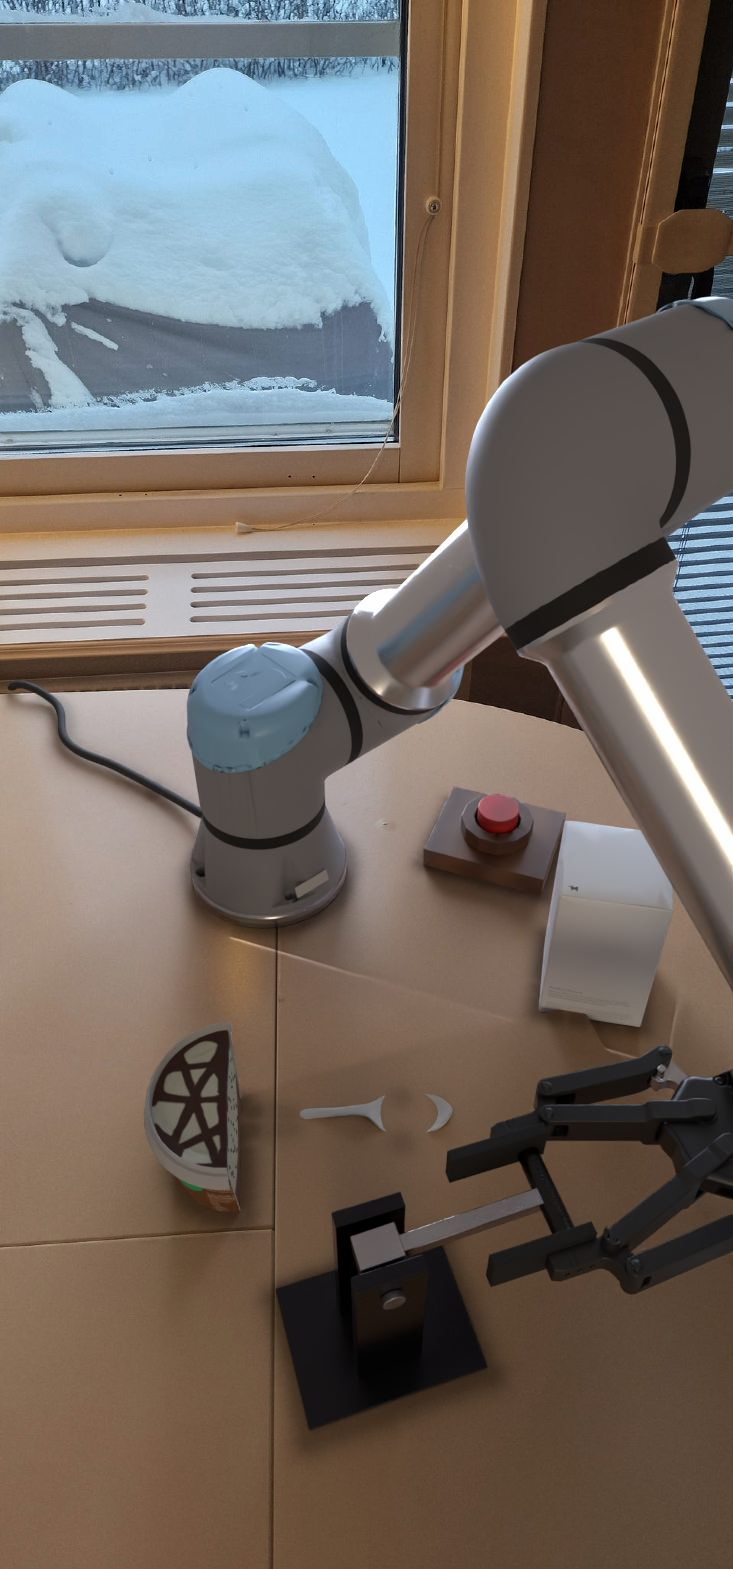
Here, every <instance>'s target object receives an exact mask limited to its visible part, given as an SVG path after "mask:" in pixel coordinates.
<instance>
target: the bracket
mask: <svg viewBox="0 0 733 1569" xmlns="http://www.w3.org/2000/svg"><path fill="white" fill-rule="evenodd" d="M330 1215H331V1230H332V1246H333V1247H332V1249H333V1263H334V1269H333V1270H330V1271H327V1272H324V1273H320V1274H317V1275H314V1276H312V1277H308V1278H305V1279H304V1278H303V1279H301V1280H299V1281H295V1282H292V1283H289V1284H286V1285H282V1286H280V1287H277V1288H275V1294H276V1298H277V1303H278V1307H279V1311H280V1315H281V1320H282V1323H283V1328H284V1331H285V1337H286V1341H287V1344H288V1348H289V1353H290V1357H291V1360H292V1361H291V1362H292V1365H293V1369H294V1374H295V1378H296V1381H297V1382H296V1383H297V1385H298V1386H297V1387H298V1390H299V1394H300V1398H301V1403H302V1407H303V1410H304V1415H305V1419H306V1424H307V1427H308V1428H307V1429H308V1430H309V1431H313V1430H315V1429H319V1428H322V1427H324V1426H327V1425H330V1424H334V1423H335V1422H340V1421H341V1420H344V1419H347V1418H349V1417H352V1416H355V1415H359V1414H362V1413H365V1412H367V1411H370V1410H372V1409H375V1408H379V1407H381V1406H385V1405H387V1404H389V1403H393V1402H395V1401H399V1400H401V1399H404V1398H406V1397H410V1396H412V1395H415V1394H419V1393H421V1392H424V1391H426V1390H429V1389H433V1388H435V1387H437V1386H441V1385H444V1384H447V1383H449V1382H452V1381H456V1380H458V1379H461V1378H464V1377H466V1376H470V1375H472V1374H474V1373H478V1372H481V1371H483V1370H486V1369H488V1365H487V1362H486V1359H485V1355H484V1354H483V1351H482V1348H481V1344H480V1343H479V1341H478V1337H477V1334H476V1332H475V1329H474V1326H473V1323H472V1321H471V1318H470V1316H469V1313H468V1311H467V1307H466V1305H465V1302H464V1300H463V1296H462V1294H461V1292H460V1290H459V1286H458V1284H457V1280H456V1278H455V1275H454V1273H453V1270H452V1267H451V1265H450V1262H449V1259H448V1256H447V1254H446V1251H445V1249H444V1245H442V1246H439V1247H436V1248H433V1249H430V1250H427V1251H424V1252H421V1253H418V1254H415V1255H413V1256H410V1257H407V1258H406V1260H403V1261H400V1262H397V1263H394V1264H391V1265H388V1266H385V1267H382V1268H378V1269H375V1270H372V1271H369V1272H366V1273H363V1274H360V1275H359V1273H358V1270H357V1266H356V1263H355V1260H354V1256H353V1252H352V1246H351V1239H350V1236H352V1235H355V1234H358V1233H361V1232H364V1231H367V1230H370V1229H373V1228H376V1227H379V1226H382V1225H385V1224H388V1223H391V1222H395V1225H396V1228H397V1231H398V1234H402V1233H405V1229H406V1228H405V1227H406V1202H405V1201H404V1198H403V1195H402V1192H401V1191H397V1192H394V1193H391V1194H387V1195H385V1196H381V1197H377V1198H375V1199H371V1200H368V1201H364V1202H361V1203H358V1204H355V1205H352V1206H348V1207H344V1208H342V1209H337V1210H335V1211H332V1212H331V1213H330Z"/></svg>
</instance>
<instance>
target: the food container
mask: <svg viewBox="0 0 733 1569" xmlns="http://www.w3.org/2000/svg"><path fill="white" fill-rule="evenodd" d="M232 1032H233V1029H232V1026H231V1023H230V1021H222V1022H216V1023H212V1024H209V1025H206V1026H203V1027H200V1028H199V1029H196V1030H194V1031H192V1032H191V1033H189V1034H188V1035H186V1036H184V1037H183V1038H181V1039H180V1040H179V1041H178V1042H176V1043H175V1044H174V1045H173V1046H172V1047H171V1048H170V1049H169V1050H168V1051H167V1052H166V1053H165V1054H164V1056H163V1057H162V1058H161V1061H159V1063H158V1065H157V1066H156V1068H155V1069H154V1071H153V1073H152V1076H151V1077H150V1080H149V1083H148V1086H147V1089H146V1092H145V1093H146V1094H145V1100H144V1107H143V1108H144V1109H143V1124H144V1125H143V1126H144V1131H145V1136H146V1141H147V1143H148V1145H149V1147H150V1150H151V1151H152V1154H154V1156H155V1158H156V1160H157V1161H158V1162H159V1164H161V1166H163V1168H164V1169H165V1170H166V1171H168V1172H170V1174H172V1176H174V1177H175V1178H177V1179H178V1181H179V1183H180V1185H181V1186H182V1188H183V1190H184V1191H185V1192H186V1193H187V1194H188V1195H189V1196H190V1197H191V1198H192V1199H193V1200H195V1201H196V1202H197V1203H199V1204H200V1205H203V1206H205V1207H206V1208H209V1209H212V1210H216V1211H219V1212H226V1213H241V1207H240V1192H241V1191H240V1189H241V1188H240V1186H241V1185H240V1184H241V1182H240V1181H241V1164H240V1162H241V1158H240V1155H241V1154H240V1153H241V1149H240V1148H241V1100H242V1096H243V1095H242V1090H241V1084H240V1078H239V1073H238V1067H237V1060H236V1054H235V1050H234V1043H233V1038H232Z"/></svg>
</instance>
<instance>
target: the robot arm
mask: <svg viewBox="0 0 733 1569" xmlns="http://www.w3.org/2000/svg"><path fill="white" fill-rule="evenodd" d="M468 452H469V453H468V456H467V461H466V468H465V476H464V485H465V486H464V498H465V510H466V519H465V520H464V521H463V522H462V523H461V524H460V525H459V526H458V527H457V528H456V529H455V530H454V531H453V532H452V533H451V535H449V536H448V537H447V539H445V540H444V541H443V542H442V544H441V545H439V546H438V548H436V549H435V551H434V552H433V553H431V555H430V556H428V557H427V558H426V560H424V562H423V563H422V564H421V565H420V566H418V568H417V569H416V570H415V571H413V573H412V574H411V575H409V577H408V578H407V579H405V581H404V582H403V583H402V584H401V585H400V586H399V587H398V588H386V589H381V590H378V591H376V592H373V593H371V594H369V595H367V596H366V597H365V598H364V599H363V600H361V602H359V604H357V605H356V606H355V607H354V608H353V610H352V611H351V612H350V613H349V614H348V615H347V616H346V617H345V618H344V619H343V620H342V621H341V622H340V623H339V624H338V625H337V626H335V627H334V628H333V629H331V630H330V631H329V632H327V633H325V634H322V635H321V636H318V637H317V638H314V639H313V640H310V641H308V642H306V643H305V644H303V645H300V646H299V647H295V646H293V645H289V644H286V643H281V642H264V643H263V644H262V645H261V646H258V647H257V646H256V645H255V644H254V643H250V644H249V643H248V644H245V645H242V646H238V647H235V648H233V649H230V650H228V651H226V652H224V653H222V654H220V655H218V656H217V657H216V658H214V659H213V660H211V661H210V662H208V663H207V665H205V667H204V668H203V669H201V670H200V672H198V674H197V675H196V677H195V678H194V680H193V682H192V684H191V686H190V687H189V691H188V695H187V701H186V721H187V722H186V723H187V724H186V740H187V744H188V746H189V749H190V751H191V758H192V764H193V771H194V775H195V776H194V777H195V783H196V790H197V796H198V802H199V806H198V805H196V803H194V802H191V801H189V800H188V799H186V798H184V797H183V796H181V795H179V794H177V793H176V792H174V791H172V790H170V789H168V788H166V787H164V786H163V785H161V784H159V783H158V782H155V781H153V780H152V779H150V778H149V777H147V776H144V775H143V774H141V773H139V772H137V771H136V770H134V769H131V768H129V767H127V766H126V765H123V764H122V763H120V762H118V761H115V760H113V759H111V758H108V757H105V756H104V755H103V756H102V755H100V754H97V753H95V752H92V751H90V750H88V749H85V748H83V747H81V746H79V745H77V744H76V743H75V742H74V741H73V740H72V739H71V738H70V737H69V735H68V732H67V726H66V724H67V723H66V711H65V708H64V705H63V704H62V702H61V701H59V699H58V698H56V697H55V695H53V694H52V693H50V692H49V691H48V690H46V689H45V688H42V687H41V686H39V685H37V684H35V683H33V682H30V681H26V680H14V681H11V682H10V683H9V684H8V685H7V690H8V691H12V692H13V691H16V690H18V689H22V690H25V691H29V692H31V693H33V694H35V695H37V696H39V697H41V698H42V699H44V700H45V701H46V702H47V703H49V704H50V705H51V706H52V707H53V709H54V710H55V714H56V725H57V726H56V728H57V729H56V730H57V735H58V738H59V740H60V741H61V743H62V744H63V745H64V746H65V748H67V749H68V751H70V752H71V753H73V754H74V755H76V756H78V757H80V758H82V759H83V760H86V761H88V762H89V761H90V762H92V763H95V764H97V765H100V766H103V767H105V768H108V769H110V770H112V771H115V772H116V773H118V774H120V775H122V776H124V777H126V778H128V779H130V780H132V781H133V782H135V783H137V784H139V785H141V786H143V787H144V788H146V789H148V790H150V791H151V792H153V793H156V794H157V795H159V796H160V797H162V798H164V799H166V800H168V801H170V802H171V803H173V804H175V805H176V806H178V807H180V808H182V809H184V810H186V811H187V812H189V813H190V814H192V815H194V816H196V817H197V818H199V819H200V822H199V825H198V828H197V831H196V836H195V839H194V843H193V847H192V850H191V855H190V861H189V862H190V863H189V868H190V876H191V882H192V886H193V890H194V892H195V894H196V896H197V898H198V900H199V901H200V902H201V903H202V905H203V906H204V907H205V908H206V909H207V910H208V911H210V913H212V914H214V915H215V916H216V917H218V918H221V919H222V920H224V921H227V922H229V923H231V924H234V925H238V926H243V927H249V928H261V929H262V928H263V929H264V928H265V929H267V928H279V927H283V926H289V925H292V924H296V923H299V922H302V921H305V920H307V919H309V918H311V917H313V916H315V915H317V914H318V913H320V912H321V911H322V910H324V909H325V908H326V907H327V906H329V905H330V904H331V903H332V901H333V900H335V898H336V897H337V896H338V894H339V893H340V892H341V889H342V888H343V886H344V883H345V880H346V876H347V866H348V865H347V849H346V845H345V843H344V839H343V837H342V835H341V833H340V832H339V830H338V829H337V826H336V824H335V822H334V819H333V817H332V814H330V810H329V809H328V807H327V805H326V786H325V784H326V783H325V782H326V780H327V778H328V777H329V776H331V775H332V774H334V773H336V772H338V771H340V770H341V769H342V768H344V767H346V766H347V765H349V764H352V763H353V762H354V761H356V760H358V759H359V758H361V757H363V756H364V755H366V754H368V753H369V752H371V751H373V750H375V749H376V748H378V747H380V746H381V745H383V744H385V743H386V742H388V741H390V740H391V739H393V738H395V737H397V736H398V735H401V734H402V733H404V732H405V731H407V730H409V729H410V728H413V727H414V726H416V725H420V724H422V723H424V722H426V721H428V720H430V719H432V718H433V717H435V716H436V715H437V714H439V712H441V711H442V710H443V708H445V707H446V706H447V705H448V704H449V703H450V702H451V701H452V700H453V698H454V697H455V695H456V694H457V692H458V690H459V688H460V685H461V682H462V679H463V674H464V668H465V665H466V664H468V663H469V662H470V661H471V660H473V659H474V658H475V657H476V656H478V655H479V654H481V652H483V651H484V650H485V649H486V648H488V647H489V646H490V645H492V644H493V643H494V642H496V641H497V640H498V639H500V638H501V637H503V635H505V634H506V636H507V638H508V639H509V641H510V643H511V645H512V647H513V648H514V650H515V652H516V653H517V655H518V657H521V658H523V659H524V658H525V659H528V660H531V661H534V662H536V663H537V662H538V663H540V664H542V665H544V666H546V668H547V670H548V671H549V673H550V675H551V677H552V678H553V680H554V682H555V683H556V685H557V687H558V689H559V690H560V692H561V694H562V696H563V698H564V699H565V702H566V703H567V704H568V707H569V708H570V710H571V711H572V713H573V715H574V717H575V718H576V720H577V722H578V724H579V726H580V727H581V729H582V731H583V733H584V734H585V736H586V738H587V740H588V741H589V743H590V745H591V746H592V749H593V750H594V752H595V754H596V755H597V757H598V759H599V761H600V763H601V764H602V766H603V768H604V770H605V771H606V773H607V774H608V775H607V776H609V778H610V780H611V782H612V784H613V785H614V787H615V789H616V790H617V792H618V794H619V795H620V797H621V799H622V801H623V804H625V807H626V808H627V810H628V812H629V813H630V815H631V817H632V818H633V820H634V822H635V824H636V825H637V827H638V830H640V831H641V832H642V834H643V836H644V838H645V839H646V841H647V843H648V845H649V846H650V848H651V850H652V852H653V853H654V855H655V857H656V859H657V860H658V862H659V864H660V866H661V867H662V869H663V871H664V873H665V874H666V876H667V878H668V880H669V881H670V883H671V885H672V887H673V891H674V892H675V894H676V896H677V897H678V899H679V901H680V903H681V905H682V906H683V908H684V909H685V911H686V913H687V915H688V916H689V918H690V920H691V922H692V923H693V925H694V928H695V929H696V931H697V932H698V934H699V935H700V937H701V939H702V941H703V943H704V945H705V946H706V948H707V950H708V951H709V954H710V955H711V957H712V958H713V961H714V962H715V965H717V968H718V969H719V971H720V972H721V975H722V976H723V978H724V980H725V981H726V983H727V985H728V986H729V988H730V990H731V992H732V993H733V699H732V697H731V695H730V694H729V692H728V690H727V688H726V687H725V684H724V682H723V681H722V680H721V677H720V676H719V674H718V673H717V672H718V671H717V670H716V669H715V666H713V663H712V662H711V659H710V658H709V656H708V655H707V652H706V651H705V649H704V647H703V645H702V644H701V642H700V640H699V639H698V638H699V637H698V636H697V635H696V633H695V630H694V629H693V628H692V625H691V623H690V622H689V621H688V618H687V617H686V615H685V613H684V611H683V610H682V608H681V606H680V604H679V602H678V601H677V599H676V597H675V595H674V585H675V582H676V577H677V574H678V570H679V566H680V563H679V561H678V558H677V557H676V554H675V553H674V551H673V550H672V548H671V546H670V544H669V543H668V541H667V538H668V537H669V536H671V535H673V534H674V533H675V532H676V531H677V530H679V529H681V528H682V527H684V526H685V525H686V524H687V523H689V522H690V521H691V520H693V519H694V518H696V517H698V515H700V514H701V513H703V512H704V511H705V510H707V509H708V508H710V507H711V506H713V505H714V504H716V503H717V502H718V501H720V500H722V499H723V498H725V497H726V496H728V495H730V494H732V493H733V298H729V297H721V296H704V297H699V298H696V299H682V300H681V299H679V300H675V301H672V302H671V303H668V304H666V305H663V306H662V307H661V308H659V309H658V310H657V311H656V312H655V313H653V314H650V315H647V316H645V317H642V318H639V319H637V320H634V321H631V322H628V323H625V324H622V325H620V326H617V327H614V328H612V329H609V330H605V331H603V332H600V333H597V334H594V335H592V336H588V337H586V338H583V339H580V340H577V341H575V342H571V343H567V344H562V345H559V346H557V347H553V348H551V349H548V350H546V351H543V352H542V353H539V354H538V355H536V356H534V357H532V358H530V359H529V360H527V361H526V362H525V363H523V364H522V365H520V366H519V367H518V368H517V369H515V371H513V372H512V374H510V375H509V376H508V377H507V378H506V379H505V380H503V381H502V383H501V384H500V386H499V387H498V388H497V390H496V391H495V392H494V394H493V395H492V397H491V398H490V399H489V401H488V402H487V404H486V406H485V408H484V409H483V412H482V413H481V415H480V417H479V419H478V420H477V424H476V427H475V429H474V432H473V435H472V440H471V442H470V447H469V451H468ZM673 1054H674V1052H673V1050H672V1049H671V1047H670V1046H668V1045H665V1044H658V1045H656V1046H655V1047H653V1048H652V1049H650V1050H648V1051H647V1052H646V1053H644V1054H643V1055H640V1057H636V1058H631V1059H626V1060H622V1061H618V1062H613V1063H608V1064H604V1065H600V1066H595V1067H591V1068H585V1069H582V1070H577V1071H571V1072H568V1073H562V1074H558V1075H554V1076H549V1077H544V1078H541V1079H539V1081H538V1082H537V1084H536V1088H535V1094H534V1098H533V1099H534V1100H533V1105H532V1106H533V1111H532V1112H529V1113H526V1114H522V1115H519V1116H516V1117H512V1118H509V1119H505V1120H502V1121H498V1122H496V1123H495V1124H493V1126H491V1127H490V1131H489V1137H488V1138H485V1139H482V1140H478V1141H474V1142H472V1143H468V1144H465V1145H462V1146H459V1147H454V1148H451V1149H449V1150H446V1161H445V1170H444V1173H445V1175H446V1178H447V1180H448V1181H447V1182H448V1183H449V1184H451V1183H454V1182H458V1181H461V1180H464V1179H468V1178H471V1177H474V1176H477V1175H481V1174H483V1173H487V1172H490V1171H494V1170H496V1169H497V1170H498V1169H500V1168H503V1167H506V1166H509V1165H510V1166H511V1165H514V1164H516V1163H519V1161H518V1155H519V1154H520V1153H521V1152H522V1151H523V1150H525V1149H528V1148H531V1147H535V1148H537V1149H538V1150H539V1152H540V1155H541V1156H542V1155H544V1154H545V1148H546V1144H547V1142H640V1143H641V1144H642V1145H645V1146H660V1148H661V1150H662V1151H663V1152H664V1154H666V1155H667V1156H668V1157H669V1159H670V1160H671V1162H672V1166H673V1169H674V1172H675V1175H674V1176H673V1177H672V1178H670V1179H669V1180H668V1181H666V1182H665V1183H664V1184H663V1185H661V1186H660V1187H659V1188H657V1189H656V1190H655V1191H654V1192H653V1193H651V1194H650V1195H649V1196H648V1197H646V1198H645V1199H643V1201H641V1202H640V1203H638V1204H637V1205H636V1206H635V1207H633V1208H632V1209H631V1210H630V1211H628V1212H627V1213H626V1214H625V1215H624V1216H622V1217H621V1218H620V1219H619V1220H617V1221H616V1222H615V1223H614V1224H612V1225H611V1226H610V1227H609V1226H608V1225H605V1227H604V1229H603V1230H602V1234H601V1235H600V1236H598V1231H597V1229H596V1227H595V1224H594V1223H593V1221H588V1222H585V1223H581V1224H577V1225H574V1226H575V1227H572V1228H569V1229H566V1230H563V1231H560V1232H557V1233H554V1234H552V1233H551V1234H548V1235H545V1236H542V1237H539V1238H536V1239H532V1240H529V1241H527V1242H523V1243H520V1244H517V1245H515V1246H511V1247H508V1248H505V1249H502V1250H500V1251H495V1252H493V1253H490V1254H488V1259H487V1264H486V1272H485V1277H486V1280H487V1282H488V1285H489V1287H490V1288H493V1287H496V1286H499V1285H502V1284H506V1283H508V1282H511V1281H514V1280H517V1279H520V1278H524V1277H526V1276H530V1275H532V1274H536V1273H538V1272H541V1271H544V1270H545V1271H546V1272H547V1275H548V1277H549V1278H550V1281H551V1282H560V1283H561V1282H565V1281H567V1280H570V1279H573V1278H575V1277H578V1276H582V1275H584V1274H587V1273H590V1272H594V1271H596V1270H605V1271H607V1272H609V1273H611V1275H613V1276H614V1278H615V1279H616V1280H617V1281H618V1282H619V1285H620V1289H621V1290H622V1291H623V1292H624V1293H626V1294H627V1295H631V1296H633V1295H637V1294H639V1293H641V1292H644V1291H647V1290H649V1289H650V1288H653V1287H655V1286H657V1285H660V1284H662V1283H664V1282H666V1281H669V1280H671V1279H673V1278H675V1277H678V1276H680V1275H682V1274H685V1273H688V1272H689V1271H691V1270H694V1269H696V1268H698V1267H701V1266H702V1265H705V1264H708V1263H709V1262H712V1261H714V1260H716V1259H719V1258H721V1257H723V1256H725V1255H728V1254H731V1253H732V1252H733V1213H732V1214H728V1215H725V1216H722V1217H720V1218H718V1219H715V1220H713V1221H711V1222H708V1223H706V1224H703V1225H702V1226H699V1227H697V1228H694V1229H691V1230H690V1231H687V1232H685V1233H683V1234H680V1235H677V1236H675V1237H673V1238H671V1239H669V1240H667V1241H664V1242H661V1243H660V1244H657V1245H654V1246H652V1247H649V1248H648V1249H645V1250H643V1251H640V1252H638V1253H636V1254H634V1253H633V1251H634V1250H635V1249H637V1248H638V1247H639V1246H641V1244H643V1243H644V1242H645V1241H647V1240H648V1239H649V1238H650V1237H652V1236H653V1235H654V1234H655V1233H657V1232H658V1230H660V1229H661V1228H663V1227H664V1226H665V1225H666V1224H668V1222H669V1221H671V1220H672V1219H673V1218H674V1217H676V1216H677V1215H678V1214H679V1213H681V1212H682V1211H684V1210H687V1209H688V1208H691V1206H692V1205H694V1204H695V1203H696V1202H697V1201H699V1200H700V1199H701V1198H702V1197H703V1196H705V1195H706V1194H707V1193H708V1194H711V1195H715V1196H717V1197H721V1198H725V1199H729V1200H733V1068H730V1069H727V1070H725V1071H723V1072H721V1073H719V1074H716V1075H715V1076H710V1077H706V1076H698V1075H690V1076H688V1075H687V1074H686V1073H685V1072H684V1071H683V1070H682V1069H681V1068H680V1067H679V1066H678V1065H677V1064H676V1063H675V1062H674V1061H673V1060H672V1058H673ZM649 1089H651V1090H652V1091H654V1092H659V1091H660V1090H664V1089H670V1090H673V1091H674V1092H673V1094H672V1096H671V1097H670V1098H669V1100H668V1099H667V1100H666V1099H663V1100H661V1099H659V1100H656V1099H655V1100H648V1101H646V1102H645V1103H642V1104H599V1103H601V1102H606V1101H610V1100H615V1099H619V1098H623V1097H629V1096H632V1095H637V1094H640V1093H642V1092H645V1091H647V1090H649ZM597 1103H598V1104H597Z"/></svg>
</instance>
